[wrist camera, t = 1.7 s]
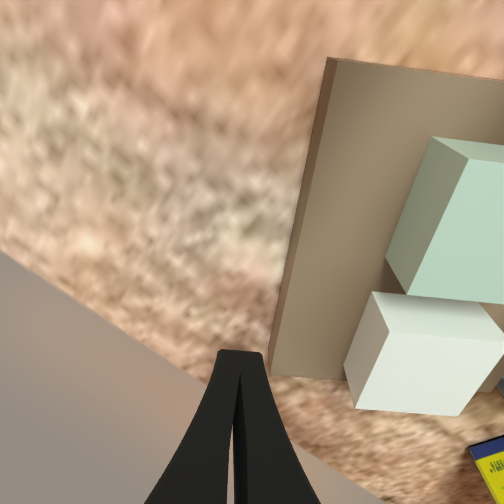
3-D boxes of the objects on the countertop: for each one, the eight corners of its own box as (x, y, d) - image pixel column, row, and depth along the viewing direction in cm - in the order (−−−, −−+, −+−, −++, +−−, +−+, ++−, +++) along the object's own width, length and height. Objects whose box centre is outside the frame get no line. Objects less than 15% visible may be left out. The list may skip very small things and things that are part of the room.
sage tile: (568, 153, 10) (633, 178, 8) (498, 268, 12) (538, 307, 10) (431, 136, 10) (469, 159, 8) (384, 256, 12) (406, 294, 10)
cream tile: (477, 301, 13) (512, 343, 11) (434, 372, 15) (457, 416, 13) (371, 291, 12) (389, 331, 11) (343, 364, 15) (354, 408, 13)
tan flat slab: (654, 101, 10) (709, 110, 9) (472, 365, 17) (490, 392, 16) (327, 57, 10) (338, 60, 9) (268, 347, 16) (269, 374, 15)
